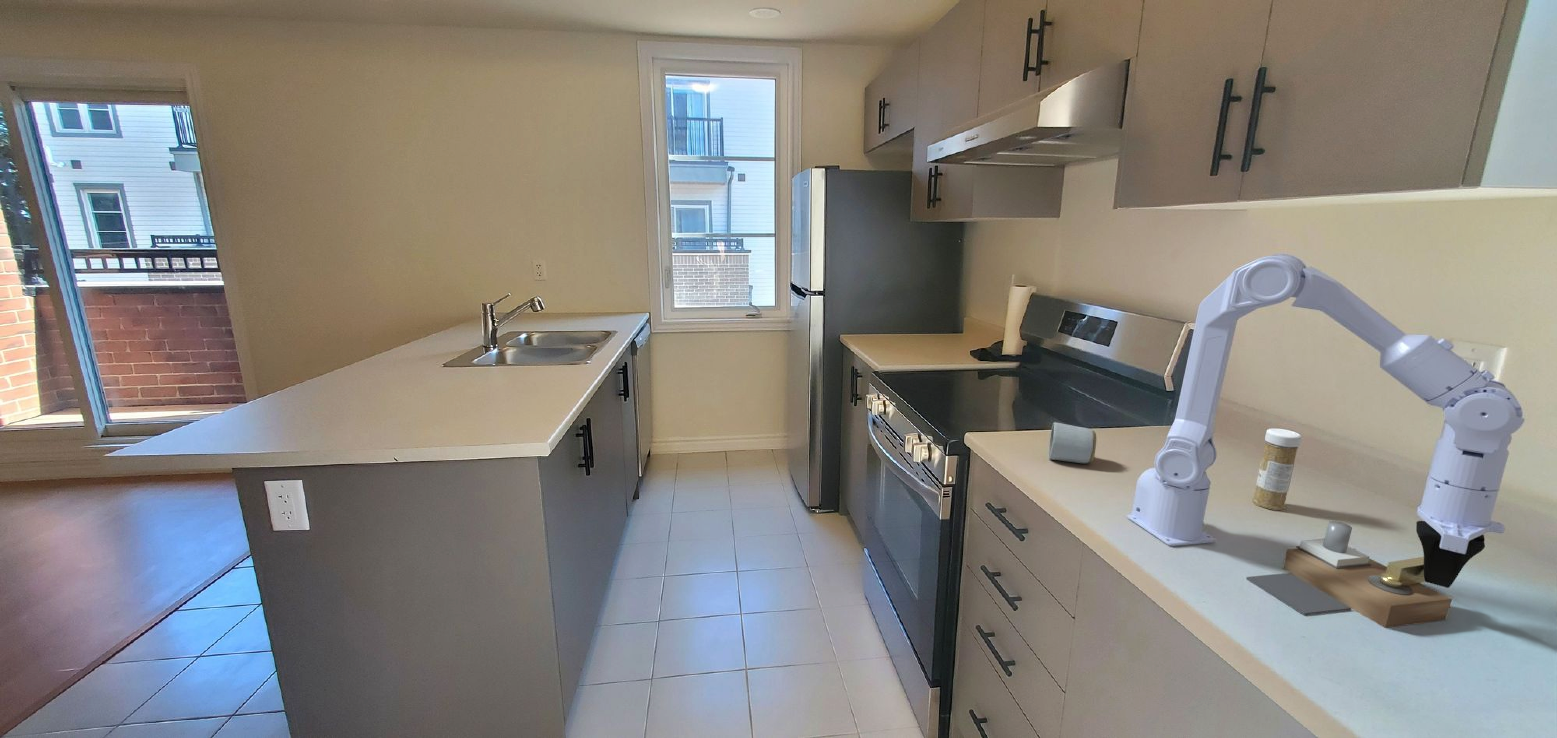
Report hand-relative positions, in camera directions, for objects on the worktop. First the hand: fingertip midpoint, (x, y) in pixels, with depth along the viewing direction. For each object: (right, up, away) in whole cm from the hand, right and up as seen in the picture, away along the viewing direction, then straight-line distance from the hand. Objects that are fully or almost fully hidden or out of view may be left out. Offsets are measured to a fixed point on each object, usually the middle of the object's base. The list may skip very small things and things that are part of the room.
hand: (1436, 583), depth 76 cm
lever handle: (-2, 0, +2) cm, 3 cm away
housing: (-5, -3, +5) cm, 8 cm away
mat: (-14, -3, +5) cm, 15 cm away
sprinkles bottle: (+3, +3, +30) cm, 30 cm away
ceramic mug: (-22, +8, +51) cm, 56 cm away
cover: (-6, +1, +8) cm, 10 cm away
